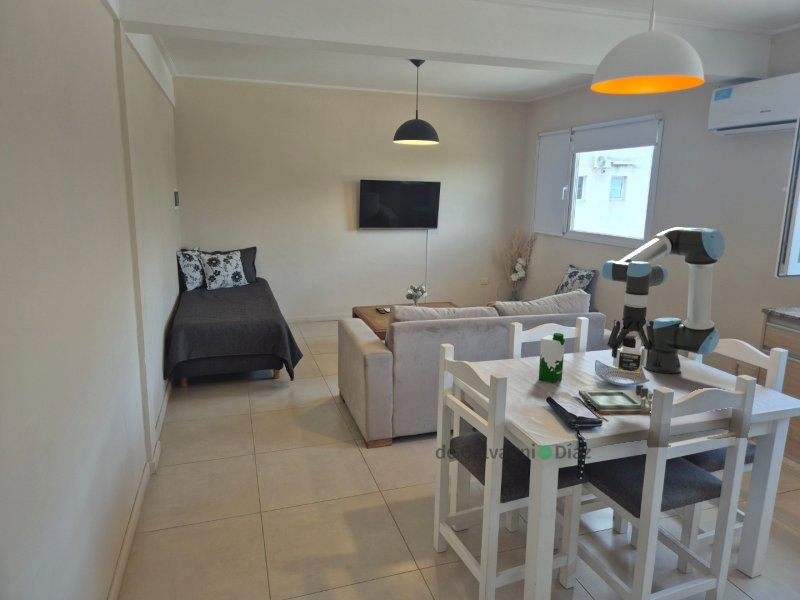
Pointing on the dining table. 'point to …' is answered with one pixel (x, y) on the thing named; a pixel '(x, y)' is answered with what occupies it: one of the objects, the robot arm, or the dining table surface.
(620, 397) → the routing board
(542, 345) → the milk carton
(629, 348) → the medicine bottle
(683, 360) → the dining table surface
